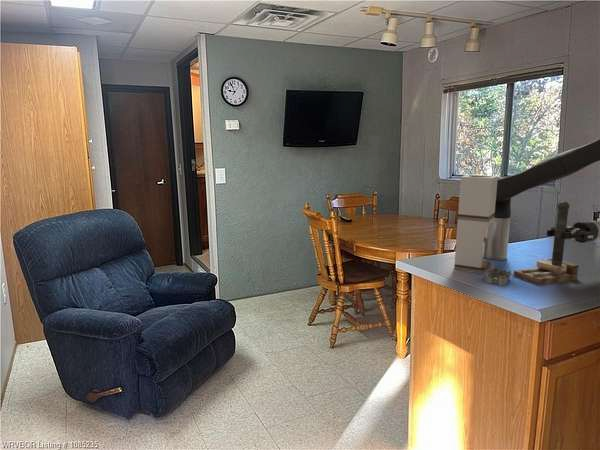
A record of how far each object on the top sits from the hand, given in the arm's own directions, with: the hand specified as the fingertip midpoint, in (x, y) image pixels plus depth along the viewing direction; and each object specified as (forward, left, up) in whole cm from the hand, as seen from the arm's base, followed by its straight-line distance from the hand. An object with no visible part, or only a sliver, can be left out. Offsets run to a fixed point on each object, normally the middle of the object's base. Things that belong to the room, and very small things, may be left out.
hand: (554, 234), depth 155 cm
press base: (-1, +2, -16) cm, 16 cm away
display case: (-25, +7, -16) cm, 31 cm away
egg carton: (-18, -7, -16) cm, 25 cm away
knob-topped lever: (+1, +3, -13) cm, 13 cm away
